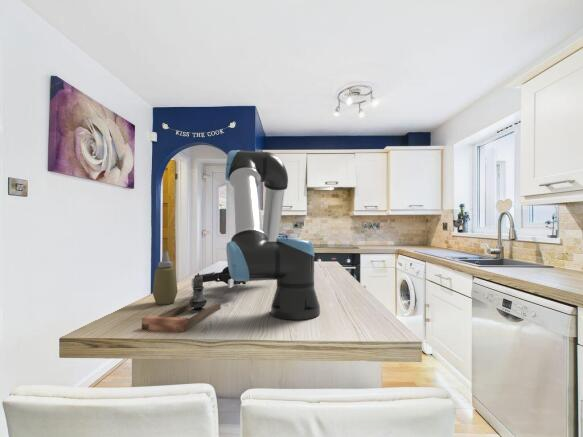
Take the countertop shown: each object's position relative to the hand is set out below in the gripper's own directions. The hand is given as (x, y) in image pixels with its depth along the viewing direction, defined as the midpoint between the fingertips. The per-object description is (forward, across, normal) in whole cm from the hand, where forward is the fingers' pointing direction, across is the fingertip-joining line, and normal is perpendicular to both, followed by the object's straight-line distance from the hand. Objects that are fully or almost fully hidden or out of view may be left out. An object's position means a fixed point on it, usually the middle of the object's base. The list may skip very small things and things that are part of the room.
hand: (210, 283), depth 106 cm
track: (+17, 0, -7) cm, 18 cm away
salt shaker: (+9, 0, -7) cm, 12 cm away
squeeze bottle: (+2, +16, -7) cm, 18 cm away
